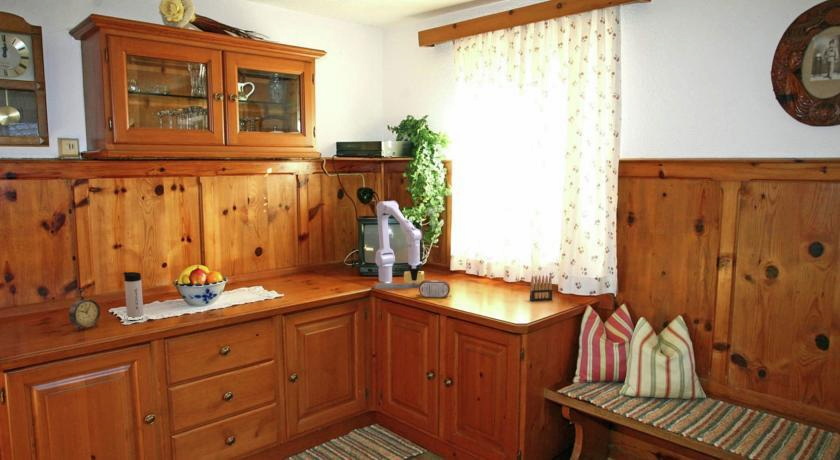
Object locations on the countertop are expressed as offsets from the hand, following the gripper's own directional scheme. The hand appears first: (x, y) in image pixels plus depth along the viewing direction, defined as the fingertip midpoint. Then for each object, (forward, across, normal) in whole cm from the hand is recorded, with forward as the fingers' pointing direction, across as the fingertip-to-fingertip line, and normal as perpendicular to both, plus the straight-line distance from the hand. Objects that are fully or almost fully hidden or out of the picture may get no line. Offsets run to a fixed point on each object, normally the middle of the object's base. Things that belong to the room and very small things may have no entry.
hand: (414, 280), depth 298 cm
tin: (+5, -16, -10) cm, 20 cm away
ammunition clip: (+5, -22, -60) cm, 64 cm away
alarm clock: (+5, -68, +129) cm, 146 cm away
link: (+1, +4, 0) cm, 4 cm away
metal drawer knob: (+4, +4, 0) cm, 6 cm away
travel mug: (+5, -54, +116) cm, 128 cm away
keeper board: (+5, +4, +7) cm, 10 cm away
